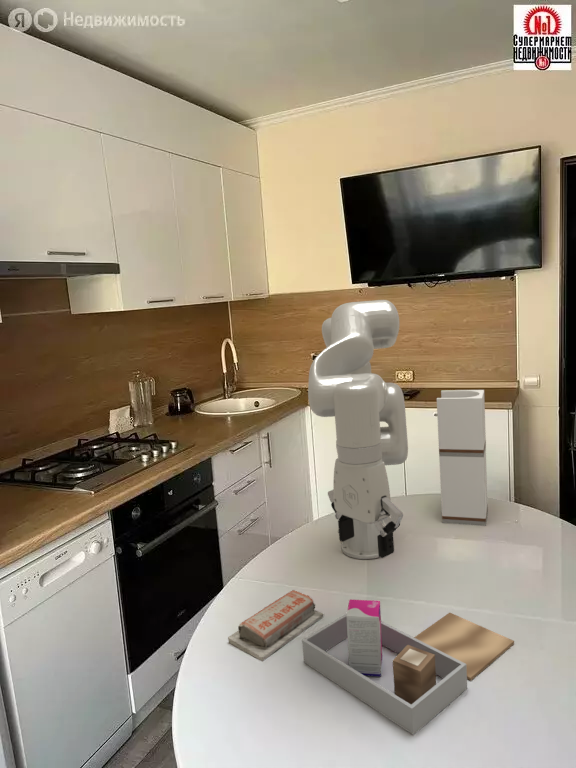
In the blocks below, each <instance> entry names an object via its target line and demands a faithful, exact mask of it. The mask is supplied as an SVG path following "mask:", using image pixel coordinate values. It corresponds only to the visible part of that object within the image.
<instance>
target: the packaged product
mask: <svg viewBox="0 0 576 768" xmlns="http://www.w3.org/2000/svg"><path fill="white" fill-rule="evenodd" d="M315 609H316V604H315V603H314V600H313V598H312V597H310V595H308V594H305V593H303V592H300V591H297V590H294V589H292V590H291V591H289V592H287V593H286V594H284V595H283V596H281V597H279V598H278V599H276V600H275V601H273V602H272V603H270V604H268V605H267V606H264V608H262V609H261V610H259V611H257V613H254V614H253V615H252V616H250V617H249V618H247V619H245V620H244V621H242V622H240V623H239V625H238V630H236V631H235V632H234V633H232V634H231V635H229V636H228V637H227V640H228V643H229V644H230V643H231V645H232V646H234V647H236V648H237V649H239V650H241V651H243V652H244V653H246V652H247V654H248V655H251V656H252V657H254V658H255V659H257V660H260V661H262V662H263V661H265V660H266V659H268V658H269V657H271V656H272V655H273V654H274V653H275V652H276V651H277V650H280V649H281V648H282V647H284V646H285V645H288V643H289V642H292V641H293V640H294V639H295V638H297V637H298V636H300V635H301V634H303V633H304V632H305V631H306V630H307V629H308V628H310V627H311V626H313V625H314V624H315V623H316V622H318V621H319V620H321V619H322V618H324V614H325V613H322V612H320V611H318V610H317V609H316V610H315Z"/></svg>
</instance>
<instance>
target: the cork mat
mask: <svg viewBox="0 0 576 768" xmlns="http://www.w3.org/2000/svg"><path fill="white" fill-rule="evenodd" d="M413 637H414V638H416V639H418V640H420V641H422V642H424V643H426V644H428V645H430V646H432V647H434V648H436V649H438V650H440V651H442V652H443V653H445V654H447V655H449V656H451V657H453V658H455V659H457V660H459V661H461V662H463V663H465V664H466V668H467V681H470V682H472V681H473V680H474V679H475V678H476V677H477V676H479V674H481V673H482V672H483V671H485V670H486V669H487V668H488V667H489V666H490V665H491V664H493V663H494V662H495V661H496V660H497V659H498V658H500V657H501V656H502V655H503V654H505V652H506V651H508V650H509V649H510V648H511V647H512V646H514V645H515V640H513V639H510V637H506V636H503V635H501V634H499V633H497V632H496V631H494V630H493V631H492V630H490V629H489V628H486V627H483V626H482V625H480V624H478V623H474V622H472V621H470V620H468V619H466V618H463V617H461V616H459V615H456V614H454V613H453V612H447V614H445V615H443V617H441V618H439V619H438V620H436V622H434V623H432V624H431V625H429V626H428V627H427V628H426V629H425V628H424V629H423V630H422V631H421V632H420V633H418V634H417V635H415V636H413Z"/></svg>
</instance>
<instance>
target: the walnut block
mask: <svg viewBox="0 0 576 768" xmlns="http://www.w3.org/2000/svg"><path fill="white" fill-rule="evenodd" d="M392 670H393V671H392V673H393V674H392V675H393V686H394V694H395V695H396V696H398V697H400V698H401V699H403V700H405V701H406V702H408V703H409V704H413V703H414V702H415V701H416V700H418V699H419V698H420V697H421V696H423V695H424V694H425V693H426V692H427V691H429V690H430V689H431V688H432V687H434V686H435V685H436V684H437V674H436V669H435V655H434V654H432V653H429V652H426V651H424V650H421V649H418V648H415V647H413V646H410V645H407V646H406V647H405V648H404V649H403V650H402V651H401V652H400V653H399V654H398V653H397V654H396V656H395V658H394V659H392Z"/></svg>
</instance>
